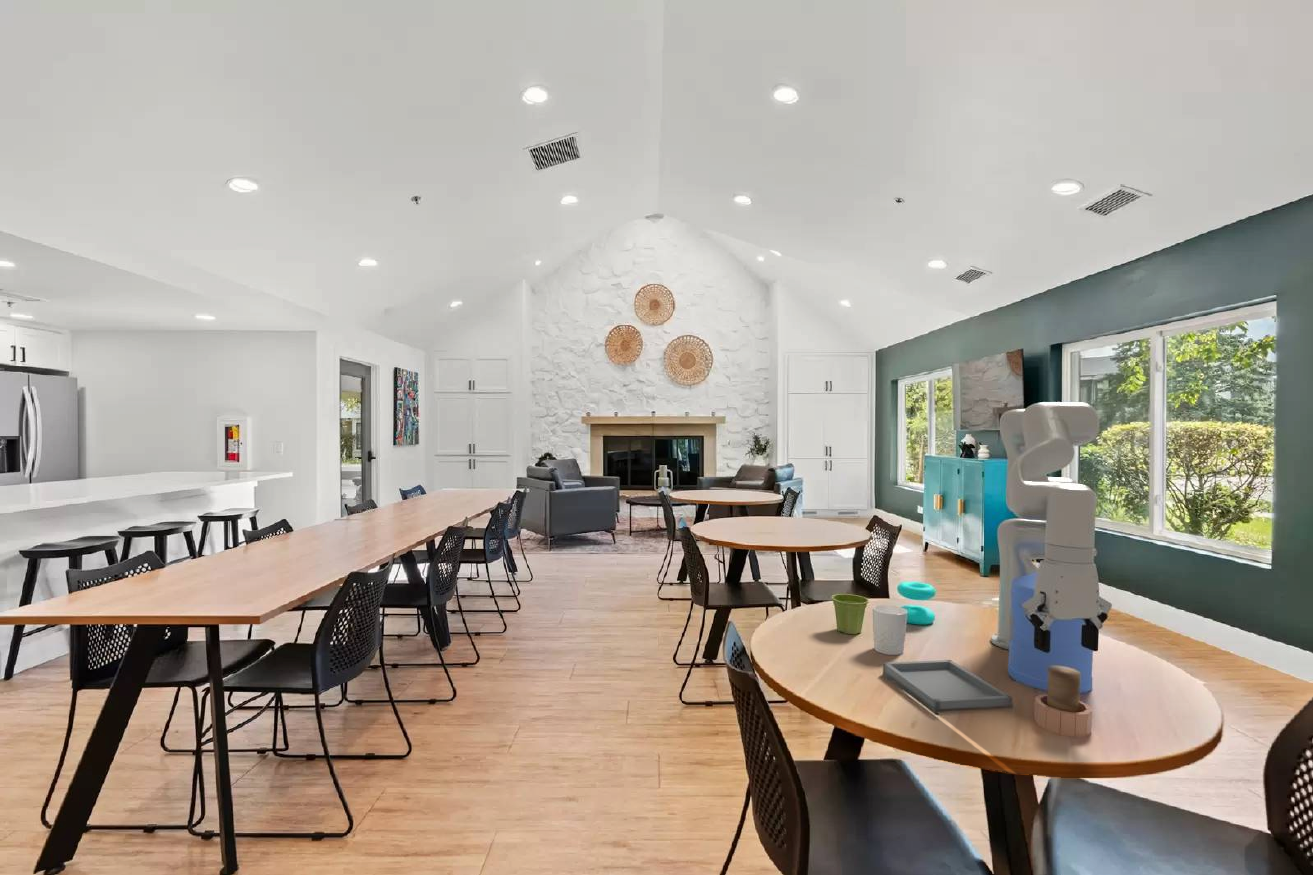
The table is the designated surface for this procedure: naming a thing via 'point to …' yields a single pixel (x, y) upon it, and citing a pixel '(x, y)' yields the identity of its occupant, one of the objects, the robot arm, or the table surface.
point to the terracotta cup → (1063, 718)
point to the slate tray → (945, 686)
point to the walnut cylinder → (1063, 688)
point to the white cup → (889, 629)
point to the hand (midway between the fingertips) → (1065, 649)
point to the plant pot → (849, 612)
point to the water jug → (1064, 644)
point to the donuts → (917, 592)
